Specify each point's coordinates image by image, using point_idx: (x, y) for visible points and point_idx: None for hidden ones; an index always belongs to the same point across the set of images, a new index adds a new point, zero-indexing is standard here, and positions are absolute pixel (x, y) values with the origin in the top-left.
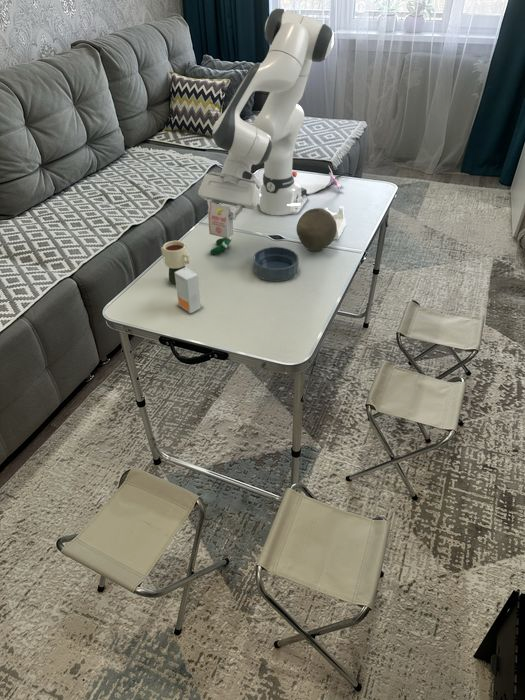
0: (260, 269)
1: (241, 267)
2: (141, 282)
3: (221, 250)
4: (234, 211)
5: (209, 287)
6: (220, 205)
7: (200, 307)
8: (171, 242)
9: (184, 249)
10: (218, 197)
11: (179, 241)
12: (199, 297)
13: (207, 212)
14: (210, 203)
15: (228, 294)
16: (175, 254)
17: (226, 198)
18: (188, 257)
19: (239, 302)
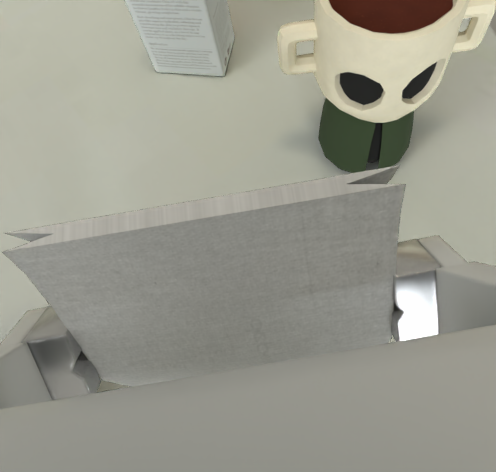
0: None
1: None
2: (486, 49)
3: None
4: (3, 352)
5: (216, 185)
6: (175, 207)
7: (154, 68)
8: (454, 4)
9: (318, 13)
10: (369, 360)
11: (414, 31)
12: (138, 32)
13: (433, 236)
14: (392, 170)
15: (115, 193)
16: None
17: (135, 406)
18: (278, 36)
19: (47, 178)
